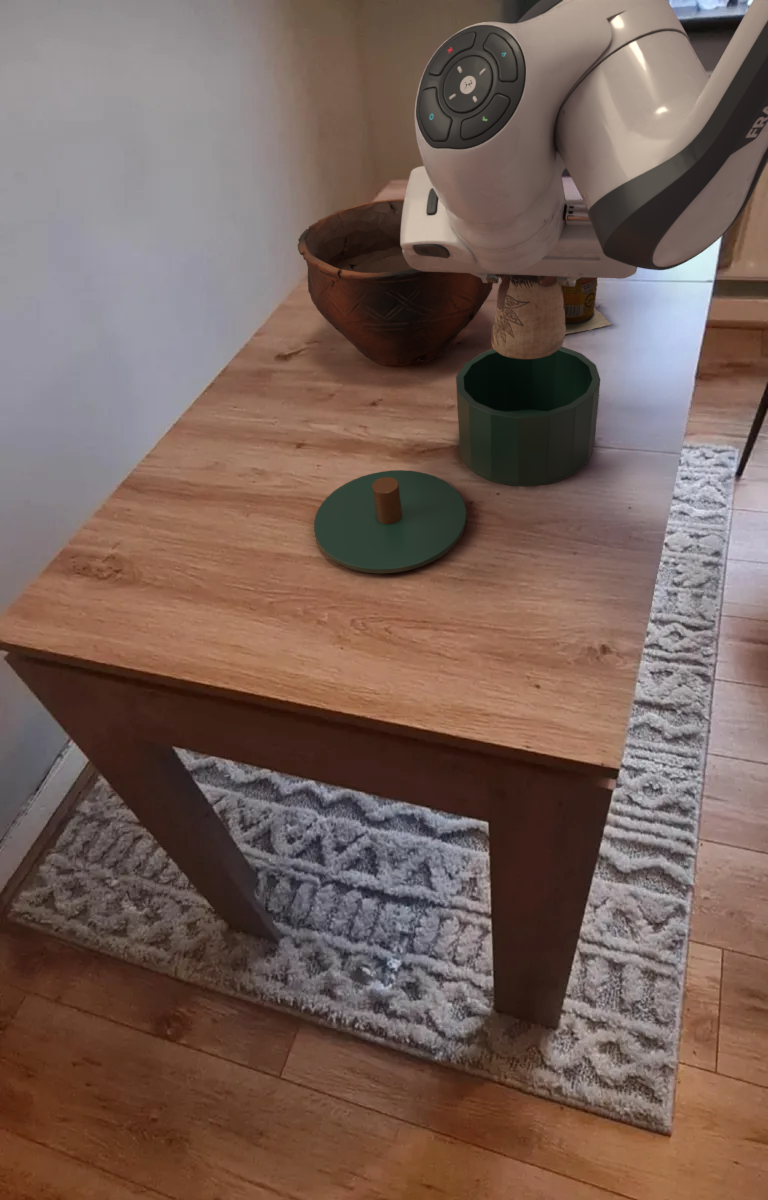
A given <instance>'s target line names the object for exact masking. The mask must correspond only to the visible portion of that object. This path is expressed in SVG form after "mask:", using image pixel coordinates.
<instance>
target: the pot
mask: <svg viewBox="0 0 768 1200" xmlns="http://www.w3.org/2000/svg"><path fill="white" fill-rule="evenodd" d="M455 382H456V385H455V386H456V401H457V402H456V403H457V418H458V419H457V422H458V442H459V443H458V444H459V454H460V458H461V459H462V461H463V463H464V464H465V466H466V467H467V468H468V469H469V470H470V471H471V472H472V473H474V474H475V475H477V476H479V477H481V478H483V479H484V480H487V481H490V482H493V483H496V484H501V485H506V486H512V487H513V486H514V487H535V486H544V485H549V484H552V483H557V482H560V481H562V480H565V479H567V478H569V477H570V476H573V475H574V474H576V473H577V472H578V471H580V470H581V469H583V467H585V465H586V464H587V463H588V461H589V460H590V459H591V457H592V454H593V450H594V446H595V442H596V433H597V432H596V431H597V420H598V411H599V400H600V399H599V398H600V390H601V388H600V387H601V377H600V374H599V370H598V368H597V365H596V364H595V363H594V362H593V361H592V360H591V359H590V358H588V357H587V356H585V355H584V354H583V353H581V352H580V351H576V350H573V349H570V348H567V347H565V346H563V345H562V346H561V347H560V348H559V349H558V350H557V351H556V352H555V353H553V354H551V355H549V356H546V357H542V358H536V359H516V358H509V357H506V356H503V355H501V354H499V353H498V352H496V351H495V350H494V348H492V349H489V350H485V351H483V352H481V353H480V354H478V355H476V356H474V357H473V358H471V359H470V360H468V361H467V362H465V363H464V364H463V367H462V368H461V369H460V371H459V372H458V373H457V375H456V376H455Z"/></svg>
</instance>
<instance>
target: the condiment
mask: <svg viewBox="0 0 768 1200" xmlns="http://www.w3.org/2000/svg"><path fill="white" fill-rule="evenodd" d="M561 287H562V294H563V301H564V309H565V322H566V332H565V335H568V334H575V333H580V332H585V331H591V330H593V329H597V328H599V329H600V328H603V327H607V326H611V325H612V324H611V322H610V321H609V320H608V319H607V318H606V317H605V316H604V315H603V314H602V313H601V312H599V311H598V310H597V309H596V307H595V305H596V298H597V290H598V278H591V277H581V278H579V279H577V280H576V284H575V286H574V287H573V286H561Z"/></svg>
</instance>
